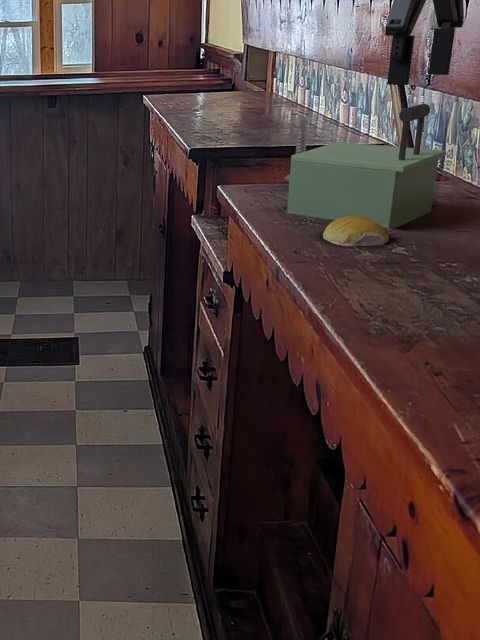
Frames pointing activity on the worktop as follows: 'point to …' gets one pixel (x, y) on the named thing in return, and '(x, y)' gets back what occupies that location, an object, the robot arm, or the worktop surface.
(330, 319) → the worktop surface
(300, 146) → the screw
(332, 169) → the bread bin
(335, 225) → the bread roll
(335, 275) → the worktop surface
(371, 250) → the worktop surface
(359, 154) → the bin lid
